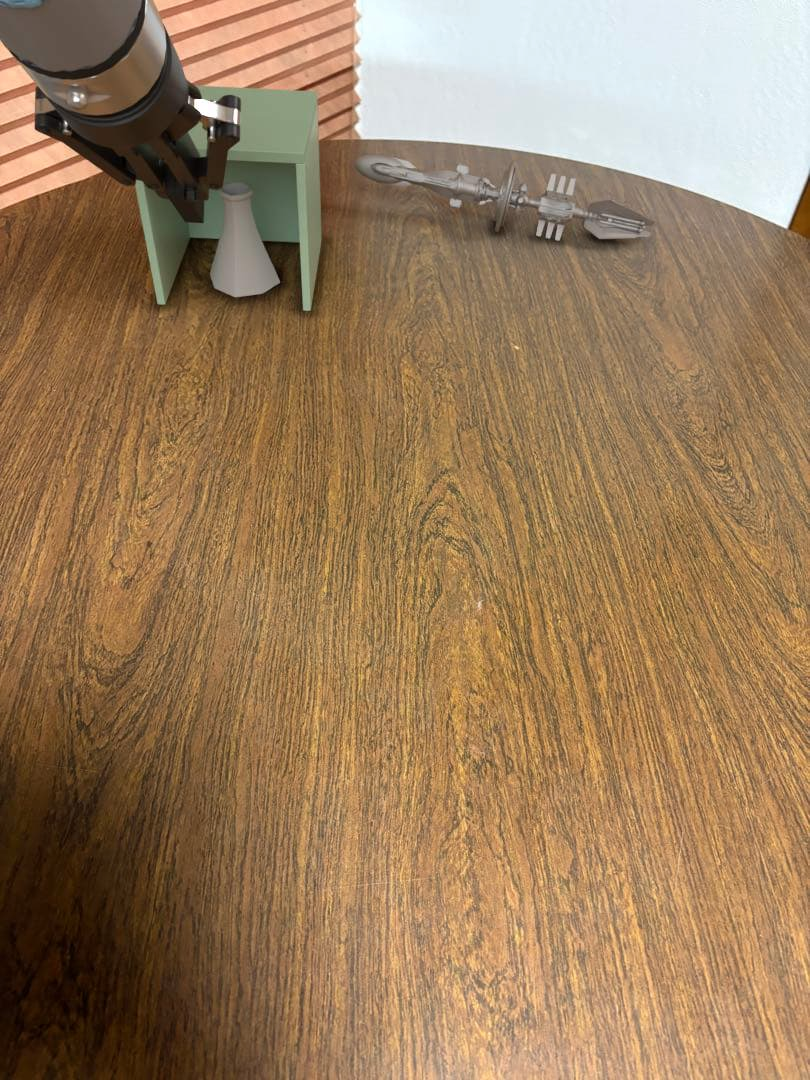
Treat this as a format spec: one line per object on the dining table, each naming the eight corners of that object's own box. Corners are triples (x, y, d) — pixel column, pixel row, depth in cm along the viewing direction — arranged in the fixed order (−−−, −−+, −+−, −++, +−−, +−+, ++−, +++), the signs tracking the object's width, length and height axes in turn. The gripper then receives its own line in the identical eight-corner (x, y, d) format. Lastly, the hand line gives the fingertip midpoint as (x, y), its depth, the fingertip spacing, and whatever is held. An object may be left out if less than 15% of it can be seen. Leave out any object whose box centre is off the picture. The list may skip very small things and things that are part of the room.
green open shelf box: (310, 311, 88) (304, 153, 76) (157, 304, 87) (127, 144, 76) (321, 240, 98) (317, 91, 86) (184, 234, 98) (161, 83, 86)
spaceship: (365, 126, 101) (355, 124, 94) (656, 191, 101) (668, 194, 93) (354, 197, 104) (343, 200, 97) (635, 260, 104) (645, 268, 97)
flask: (231, 306, 88) (220, 212, 81) (198, 275, 92) (184, 183, 84) (292, 286, 91) (286, 194, 84) (257, 257, 95) (249, 166, 87)
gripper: (-28, 115, 46) (112, 249, 69) (219, 128, 46) (274, 256, 70) (-25, -30, 45) (114, 154, 69) (223, -16, 46) (277, 162, 69)
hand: (194, 205), depth 69 cm, fingers closed
